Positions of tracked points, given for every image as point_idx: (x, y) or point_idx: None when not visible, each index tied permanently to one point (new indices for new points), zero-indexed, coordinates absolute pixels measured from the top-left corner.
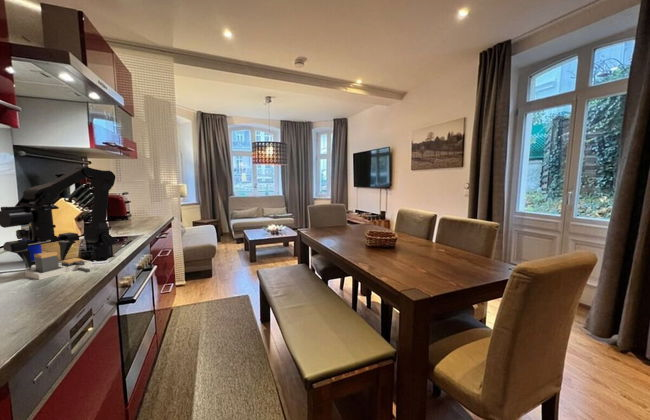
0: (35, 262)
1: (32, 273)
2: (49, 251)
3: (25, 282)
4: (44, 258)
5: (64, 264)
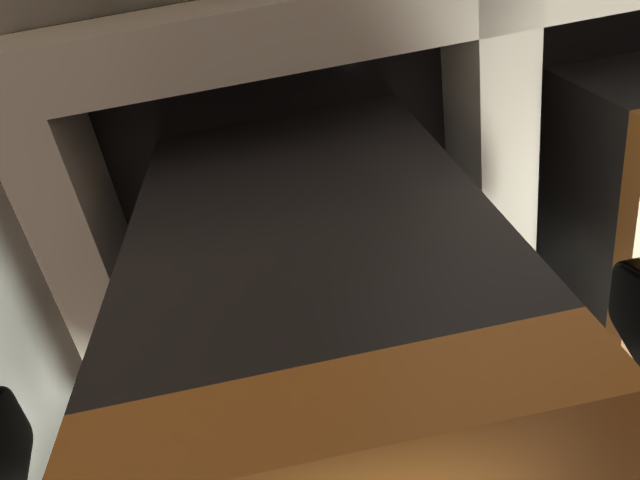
0: (117, 298)
1: (76, 334)
2: (613, 422)
3: (6, 362)
4: None
5: (595, 198)
